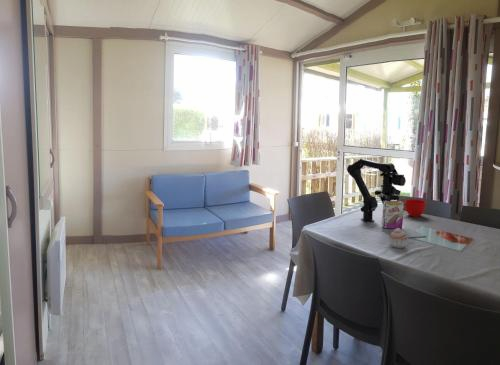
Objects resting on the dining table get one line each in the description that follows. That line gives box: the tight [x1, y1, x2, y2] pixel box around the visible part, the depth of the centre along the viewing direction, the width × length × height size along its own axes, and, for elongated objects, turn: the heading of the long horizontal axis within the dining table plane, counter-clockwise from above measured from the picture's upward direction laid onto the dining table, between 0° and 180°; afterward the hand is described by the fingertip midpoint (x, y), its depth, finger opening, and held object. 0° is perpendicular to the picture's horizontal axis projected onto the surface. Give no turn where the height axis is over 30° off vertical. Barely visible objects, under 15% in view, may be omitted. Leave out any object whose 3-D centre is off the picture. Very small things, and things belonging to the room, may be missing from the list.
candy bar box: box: [381, 200, 405, 230], centre depth 234 cm, size 11×5×16 cm, turn 84°
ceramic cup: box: [403, 198, 427, 218], centre depth 265 cm, size 13×17×10 cm
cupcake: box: [388, 228, 409, 249], centre depth 201 cm, size 9×9×10 cm
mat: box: [381, 227, 427, 239], centre depth 224 cm, size 16×18×1 cm
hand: (385, 208), depth 242 cm, fingers closed
